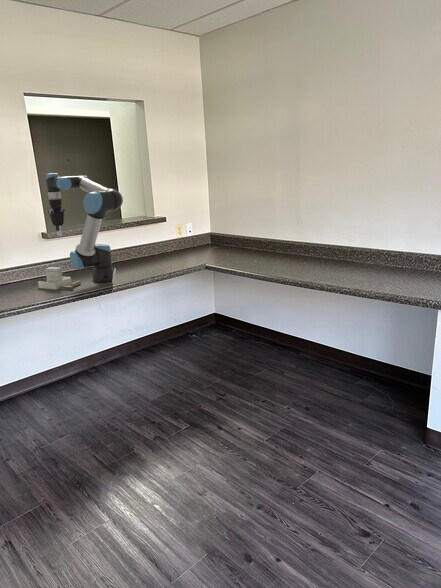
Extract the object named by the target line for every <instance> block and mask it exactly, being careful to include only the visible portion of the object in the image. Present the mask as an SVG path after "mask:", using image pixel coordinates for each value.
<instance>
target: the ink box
mask: <svg viewBox="0 0 441 588" xmlns="http://www.w3.org/2000/svg"><path fill="white" fill-rule="evenodd" d="M45 276H46V282H51V283H56V282H59V281H61V280H63V277H64V276H63V269H62V267H55V266H53V267H52V266H49V267H47V268H45Z"/></svg>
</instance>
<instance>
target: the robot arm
mask: <svg viewBox="0 0 441 588" xmlns="http://www.w3.org/2000/svg"><path fill="white" fill-rule="evenodd" d="M45 183H46V188H47V196H48V203H49V206H50V210H48V214H49V216H50V219H51V223H52V225H53V226H55V231H56V234H57V235H56V236H57V237H63V231H62V230H63V228H62V226H63V225H64V224H65V223H64V222H65V208H63V206H62V205H63V202H62V199H61V198H62V194H61V193H62V192H61V190H63V191H66V190H67V191H68V190H73V189H79V190H81V191H84V192H85V193H87V194H85V196H84V197H83V202H82V203H83V209H84V211H85V213H86V215H87V216H86V219H85V223H84V227H83V230H82V233H81V237H80V238H81V239H80V242H79V243H78V244H77V245H76V246H75V248H74V250H72V251H70V253H69V261H70V263H71V265H72V266H73V268H74V269H76V270H84V269H88V268H91V267H93V272H92V278H91V279H92V282H95V283H109V282H113V280H114V273H115V269H114V268H113V260H112V249H111V246H110V245H108V244H104V243H103V244H102V243H97V239H98V235H99V232H100V229H101V225H102V222H103V220H105V219H106V217H107V214H108V213H109V212H115V211H118V209H120V208H121V207H122V205H123V200H124V198H123V195H122V194H121V193H120V192H119V191H118V190H117V189H115V188H111V187H109V188H108V187H106V186H103V185H102V184H99V183H97V182H95V181H92V180H91V179H90V178H89V176H87V175H72V176H71V175H70V176H69V175H68V176H59V174H58V173H53V172H52V173H46V174H45Z"/></svg>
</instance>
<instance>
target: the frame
mask: <svg viewBox="0 0 441 588" xmlns="http://www.w3.org/2000/svg"><path fill="white" fill-rule="evenodd" d="M72 283H73V281H72V277H71V276H63V280H61V281H59V282H56V283H51V282H47V281H41V280H40V281H37V284H38V289H45V290H55V291H57V290H59V289H60V286H67V285H69V284H72Z"/></svg>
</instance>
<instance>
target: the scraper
mask: <svg viewBox="0 0 441 588" xmlns="http://www.w3.org/2000/svg"><path fill="white" fill-rule="evenodd" d="M81 284H82V282H81V280H77V281H74V282H72V283H71V284H69V285H66V286H60V288H59V289H60V290H63V291H74V288H75V287H77V286H79V285H81Z"/></svg>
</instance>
